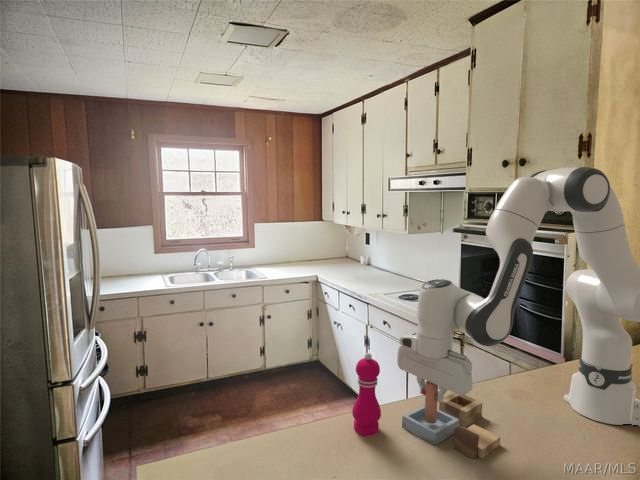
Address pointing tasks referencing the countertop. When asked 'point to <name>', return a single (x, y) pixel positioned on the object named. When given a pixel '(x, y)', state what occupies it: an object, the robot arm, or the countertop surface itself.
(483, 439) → the tan wooden cuboid
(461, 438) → the block
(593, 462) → the countertop surface
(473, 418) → the socket block
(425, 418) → the dowel
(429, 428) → the tray
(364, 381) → the pepper mill
